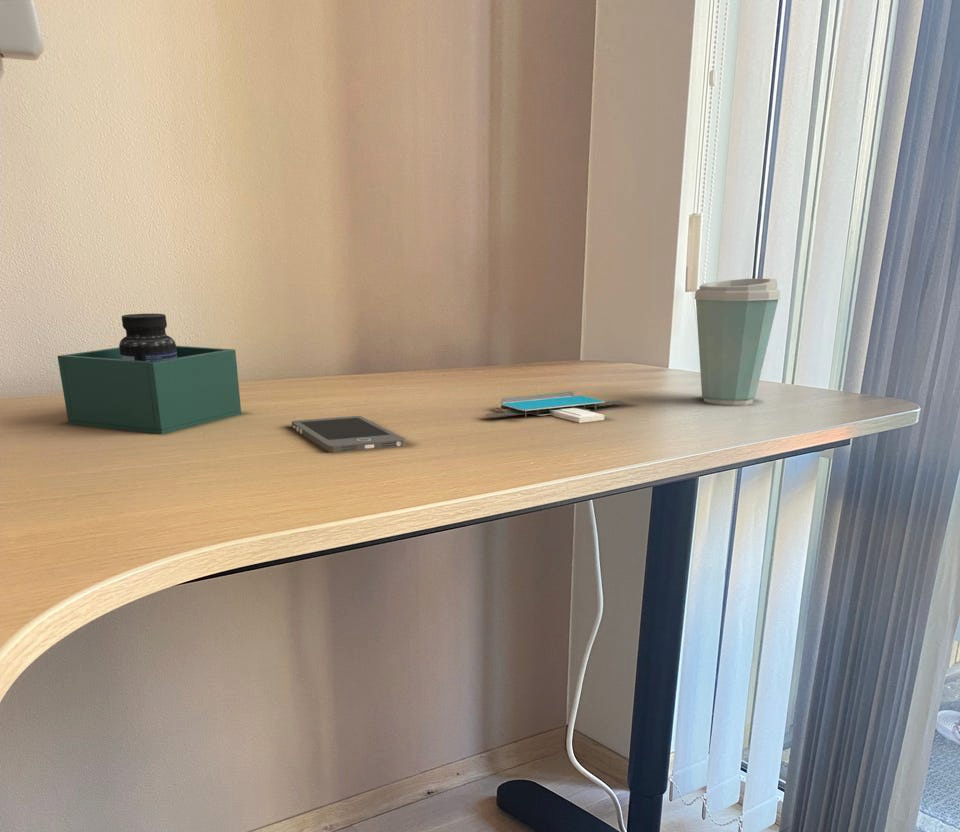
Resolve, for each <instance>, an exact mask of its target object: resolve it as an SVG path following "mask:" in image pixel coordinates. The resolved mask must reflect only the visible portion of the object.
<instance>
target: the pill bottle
mask: <svg viewBox="0 0 960 832" xmlns="http://www.w3.org/2000/svg"><path fill="white" fill-rule="evenodd" d="M121 323H122V328H123V329H124V330H125V334H126V335H125V336H124V337H123V338H121V340H120V341H119V344H118V347H119V349H120V356H121V359H122V360H135V361H149V362H154V361H161V360H167V359H173V358H177V351H176V346H177V343H176V341H175V339H174V338H173V337H171V336H169V335H167V333H166V328H167V327H168V323H167V317H166V314H165V313H130V314H123V315H121Z"/></svg>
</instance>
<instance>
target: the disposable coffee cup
mask: <svg viewBox="0 0 960 832" xmlns="http://www.w3.org/2000/svg"><path fill="white" fill-rule="evenodd" d="M693 299H694V300H695V309H696V322H697V325H696V326H697V340H698V353H699V354H698V355H699V372H700V386H701V397H703V402H705V403H707V404H713V405H720V406H747V405H751V404H753V401H754V399H755V398H756V395H757V391H758V387H759V383H760V378H761V375H762V374H761V373H762V370H763V366H764V361H765V356H766V353H767V349H768V344H769V341H770V336H771V332H772V328H773V323H774V321H775V320H774V319H775V316H776V311H777V307H778V302H779V300H781V290H780V289H779V288H778V279H777V278H741V279H739V278H738V279H729V280H721V281H713V282H708V283H702V284H700V285H699V288H698V289H696V290H695V292H694V298H693Z"/></svg>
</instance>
